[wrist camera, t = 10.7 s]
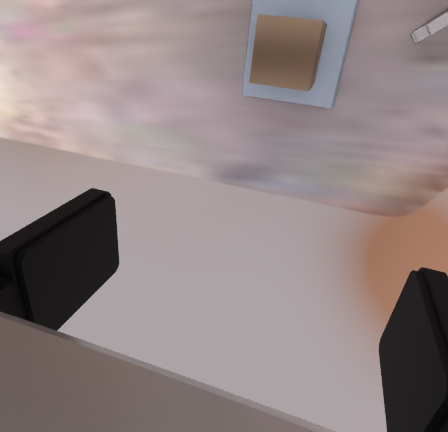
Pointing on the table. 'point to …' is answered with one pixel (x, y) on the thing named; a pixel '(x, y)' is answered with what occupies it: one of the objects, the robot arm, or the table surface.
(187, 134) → the table surface
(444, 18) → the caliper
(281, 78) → the walnut block
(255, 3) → the base block
